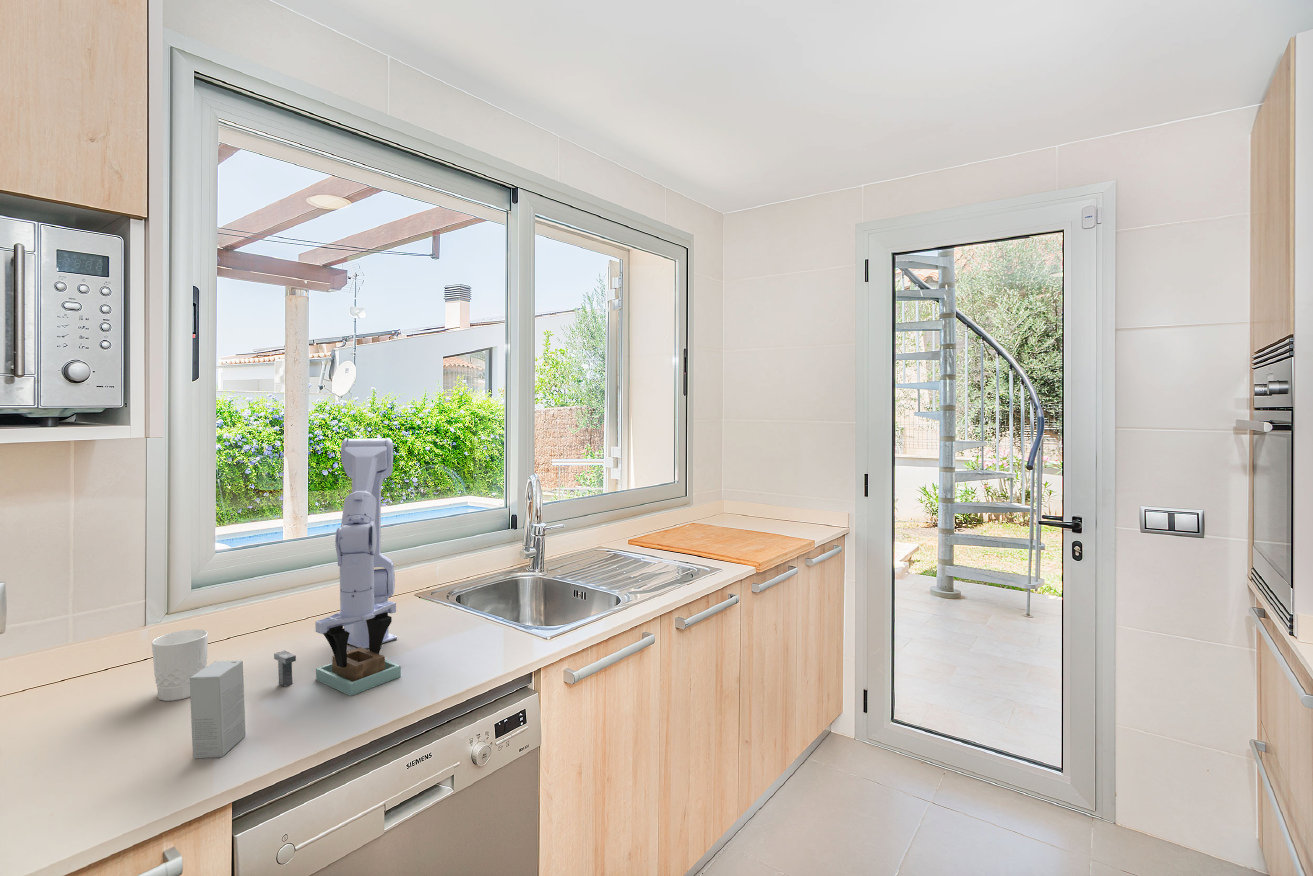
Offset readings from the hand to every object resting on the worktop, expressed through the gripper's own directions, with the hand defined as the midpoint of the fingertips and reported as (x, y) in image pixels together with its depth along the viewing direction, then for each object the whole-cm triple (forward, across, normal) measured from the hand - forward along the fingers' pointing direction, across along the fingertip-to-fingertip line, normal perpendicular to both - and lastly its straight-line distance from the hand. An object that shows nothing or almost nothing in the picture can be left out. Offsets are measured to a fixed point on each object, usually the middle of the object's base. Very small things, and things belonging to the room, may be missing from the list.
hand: (358, 660), depth 116 cm
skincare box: (+4, -25, -6) cm, 26 cm away
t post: (+3, -9, +8) cm, 13 cm away
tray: (+3, 0, 0) cm, 3 cm away
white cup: (+4, -21, +20) cm, 29 cm away
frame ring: (+2, 0, 0) cm, 2 cm away
